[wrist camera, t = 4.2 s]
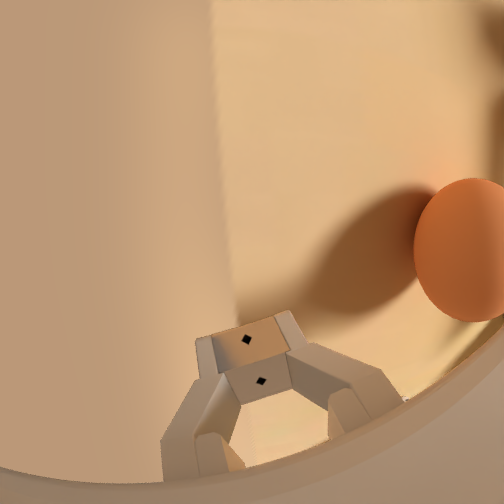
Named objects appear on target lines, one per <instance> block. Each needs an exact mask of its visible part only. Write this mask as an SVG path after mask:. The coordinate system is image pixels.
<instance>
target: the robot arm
mask: <svg viewBox="0 0 504 504" xmlns="http://www.w3.org/2000/svg"><path fill="white" fill-rule="evenodd" d="M195 344H196V352H197V361H198V369H199V376H200V379H198V380H195V381H194V383H193V385H192V387H191V389H190V390H189V392H188V394H187V396H186V397H185V399H184V401H183V402H182V404H181V406H180V408H179V409H178V411H177V413H176V415H175V416H174V418H173V420H172V422H171V423H170V425H169V427H168V428H167V430H166V432H165V434H164V435H163V437H162V439H161V441H160V443H161V457H162V469H163V480H164V482H154V483H133V484H131V483H130V484H114V483H112V484H111V483H90V482H78V481H68V480H60V479H53V478H47V477H41V476H36V475H31V474H27V473H22V472H18V471H14V470H9V469H6V468H3V467H0V504H504V325H503V326H502V327H501V328H500V329H499V330H498V331H497V332H496V333H495V334H494V335H493V336H492V337H491V338H490V339H488V340H487V341H486V342H485V343H484V344H483V345H482V346H481V347H480V348H478V349H477V350H476V351H475V352H474V353H473V354H471V355H470V356H469V357H468V358H467V359H465V360H464V361H463V362H462V363H460V364H459V365H458V366H457V367H455V368H454V369H453V370H451V371H450V372H449V373H447V374H446V375H445V376H443V377H442V378H441V379H439V380H438V381H436V382H435V383H433V384H432V385H431V386H429V387H428V388H426V389H425V390H423V391H422V392H420V393H419V394H417V395H415V396H414V397H412V398H411V399H409V400H408V401H406V402H404V401H403V399H402V398H401V396H400V395H399V394H398V392H397V391H396V390H395V388H394V387H393V385H392V384H391V383H390V381H389V380H388V379H387V377H386V376H385V374H384V373H383V372H382V370H381V369H378V368H376V367H373V366H371V365H368V364H365V363H363V362H360V361H358V360H355V359H353V358H350V357H348V356H345V355H343V354H340V353H338V352H336V351H333V350H331V349H328V348H326V347H324V346H321V345H319V344H317V343H314V342H313V343H310V344H309V343H308V341H307V340H306V338H305V336H304V334H303V333H302V331H301V329H300V328H299V326H298V324H297V322H296V321H295V319H294V317H293V315H292V314H291V312H290V311H289V310H286V311H283V312H280V313H277V314H275V315H273V316H270V317H267V318H264V319H261V320H258V321H255V322H252V323H249V324H246V325H243V326H240V327H236V328H233V329H230V330H226V331H223V332H219V333H215V334H212V335H209V336H205V337H201V338H197V339H196V342H195ZM290 389H293V390H295V391H296V392H298V393H300V394H301V395H303V396H304V397H306V398H307V399H309V400H310V401H312V402H314V403H315V404H317V405H318V406H320V407H322V408H323V409H325V410H327V411H328V436H329V438H330V441H327V442H325V443H322V444H320V445H317V446H315V447H312V448H309V449H307V450H304V451H301V452H298V453H295V454H293V455H290V456H287V457H283V458H280V459H277V460H274V461H270V462H267V463H264V464H260V465H256V466H252V467H249V468H246V467H245V464H244V462H243V461H242V460H241V459H240V457H239V456H238V455H237V454H236V453H235V452H234V451H233V449H232V448H231V447H230V446H229V442H230V439H231V436H232V433H233V430H234V427H235V424H236V421H237V418H238V415H239V412H240V409H241V405H243V404H246V403H250V402H253V401H256V400H259V399H262V398H264V397H267V396H271V395H274V394H277V393H280V392H283V391H287V390H290Z"/></svg>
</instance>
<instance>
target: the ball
mask: <svg viewBox="0 0 504 504" xmlns="http://www.w3.org/2000/svg"><path fill="white" fill-rule="evenodd" d="M413 251H414V263H415V268H416V273H417V276H418V279H419V282H420V284H421V286H422V288H423V290H424V292H425V293H426V295H427V296H428V298H429V299H430V300H431V301H432V302H433V304H434V305H435V306H436V307H437V308H438V309H440V310H441V311H442V312H444V313H445V314H447V315H449V316H451V317H452V318H455V319H458V320H460V321H466V322H482V321H487V320H491V319H493V318H496V317H498V316H500V315H501V314H503V313H504V188H503V187H502V186H500V185H498V184H496V183H494V182H492V181H488V180H485V179H477V178H470V179H463V180H459V181H456V182H453V183H451V184H449V185H447V186H446V187H444V188H443V189H441V190H440V191H439V192H438V193H437V194H435V195H434V196H433V198H432V199H431V200H430V201H429V203H428V204H427V205H426V207H425V209H424V210H423V212H422V214H421V216H420V218H419V221H418V224H417V227H416V232H415V237H414V247H413Z"/></svg>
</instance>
